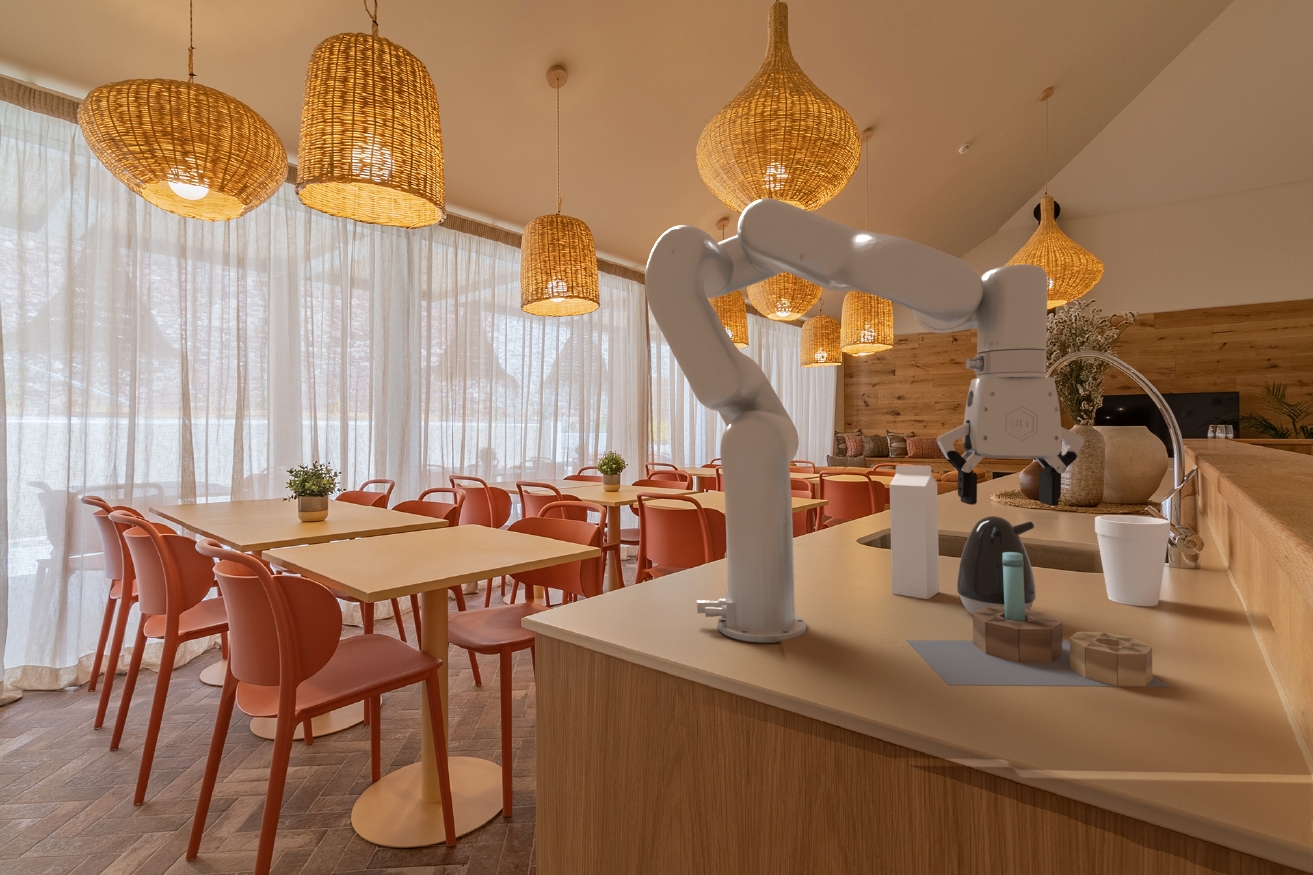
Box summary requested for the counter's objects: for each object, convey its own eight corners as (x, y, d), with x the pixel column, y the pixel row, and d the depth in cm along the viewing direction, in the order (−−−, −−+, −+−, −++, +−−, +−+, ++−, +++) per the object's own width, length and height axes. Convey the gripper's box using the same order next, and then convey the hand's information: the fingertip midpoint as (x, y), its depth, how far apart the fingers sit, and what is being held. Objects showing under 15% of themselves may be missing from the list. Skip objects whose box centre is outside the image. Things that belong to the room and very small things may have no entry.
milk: (927, 600, 101) (925, 467, 100) (891, 593, 105) (888, 466, 104) (939, 591, 105) (937, 464, 105) (904, 586, 109) (901, 463, 109)
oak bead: (1097, 685, 66) (1096, 653, 66) (1059, 660, 73) (1059, 631, 72) (1166, 686, 65) (1166, 653, 65) (1122, 661, 72) (1121, 631, 72)
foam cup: (1166, 597, 99) (1165, 517, 99) (1176, 612, 91) (1175, 525, 91) (1094, 590, 104) (1093, 514, 104) (1098, 603, 96) (1097, 521, 96)
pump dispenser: (1050, 630, 84) (1048, 521, 84) (969, 628, 86) (967, 521, 86) (1021, 609, 94) (1020, 511, 94) (949, 607, 96) (947, 511, 96)
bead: (996, 662, 73) (995, 628, 73) (964, 636, 82) (963, 606, 82) (1075, 662, 72) (1075, 628, 72) (1034, 636, 81) (1034, 606, 81)
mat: (948, 689, 67) (948, 684, 67) (906, 644, 81) (906, 640, 81) (1171, 690, 65) (1171, 686, 65) (1089, 644, 79) (1089, 640, 79)
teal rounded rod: (1011, 652, 76) (1007, 556, 76) (1002, 645, 78) (998, 552, 78) (1030, 651, 75) (1026, 555, 75) (1021, 645, 78) (1017, 551, 78)
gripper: (951, 365, 73) (949, 507, 74) (1102, 364, 72) (1099, 509, 72) (928, 370, 81) (926, 499, 81) (1065, 370, 79) (1062, 500, 80)
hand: (1008, 503), depth 77 cm, fingers open, 9 cm apart
